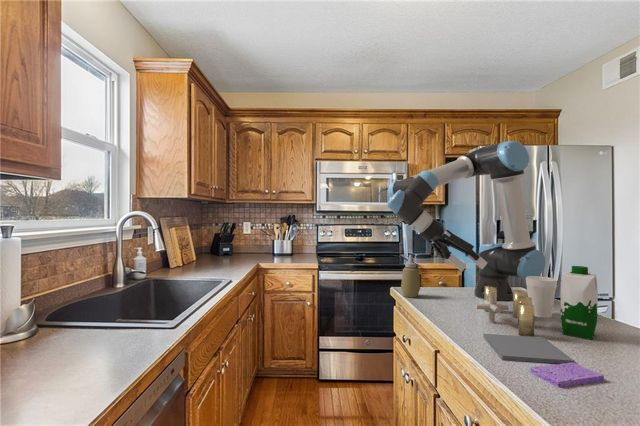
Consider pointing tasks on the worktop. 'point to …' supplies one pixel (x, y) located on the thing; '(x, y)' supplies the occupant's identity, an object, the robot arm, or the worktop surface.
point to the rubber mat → (526, 349)
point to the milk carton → (579, 303)
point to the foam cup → (541, 294)
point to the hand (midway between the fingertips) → (473, 267)
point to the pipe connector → (492, 306)
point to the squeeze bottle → (410, 279)
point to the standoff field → (518, 310)
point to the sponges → (566, 374)
